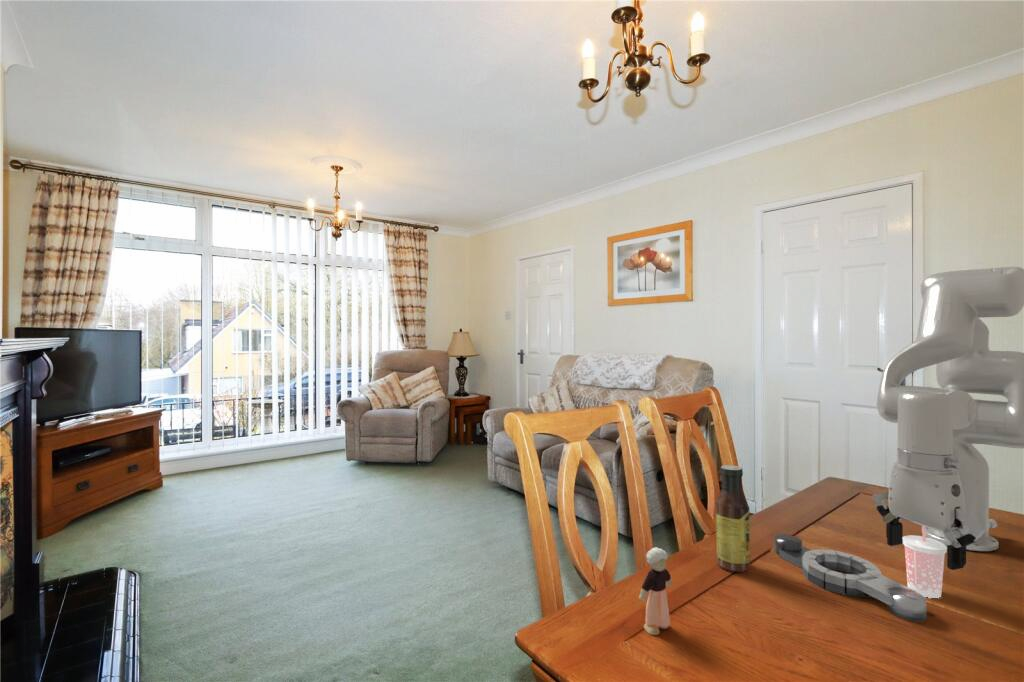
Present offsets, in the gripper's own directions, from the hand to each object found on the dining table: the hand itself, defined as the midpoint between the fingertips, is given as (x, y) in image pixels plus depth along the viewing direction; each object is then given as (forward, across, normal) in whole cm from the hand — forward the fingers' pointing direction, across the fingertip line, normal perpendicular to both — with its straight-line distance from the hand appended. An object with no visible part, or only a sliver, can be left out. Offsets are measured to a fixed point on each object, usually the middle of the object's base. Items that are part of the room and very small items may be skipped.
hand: (923, 555), depth 86 cm
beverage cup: (+7, 0, 0) cm, 7 cm away
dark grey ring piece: (+7, +12, +10) cm, 17 cm away
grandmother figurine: (+7, +7, +51) cm, 52 cm away
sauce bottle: (+7, +19, +25) cm, 32 cm away
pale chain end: (+7, +4, +10) cm, 12 cm away
